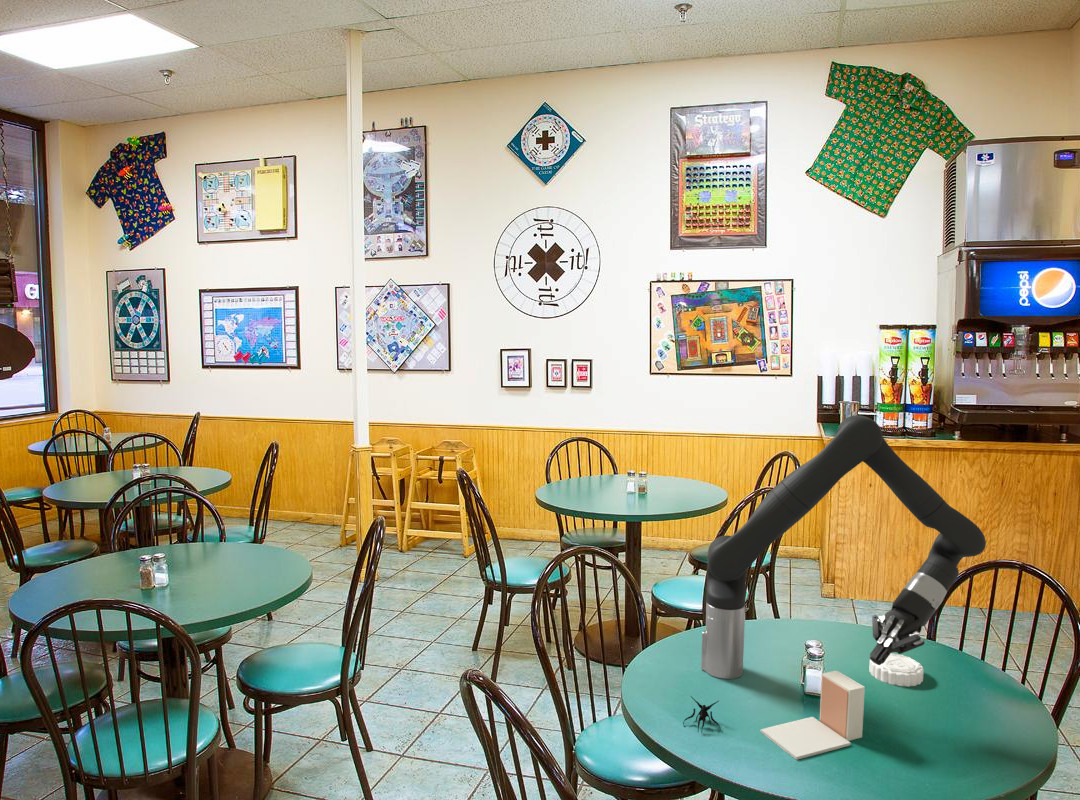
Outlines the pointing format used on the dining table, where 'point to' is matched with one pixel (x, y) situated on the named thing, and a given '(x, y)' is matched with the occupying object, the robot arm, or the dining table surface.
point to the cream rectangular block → (842, 705)
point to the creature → (703, 715)
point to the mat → (805, 737)
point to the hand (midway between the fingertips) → (874, 661)
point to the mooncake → (898, 671)
